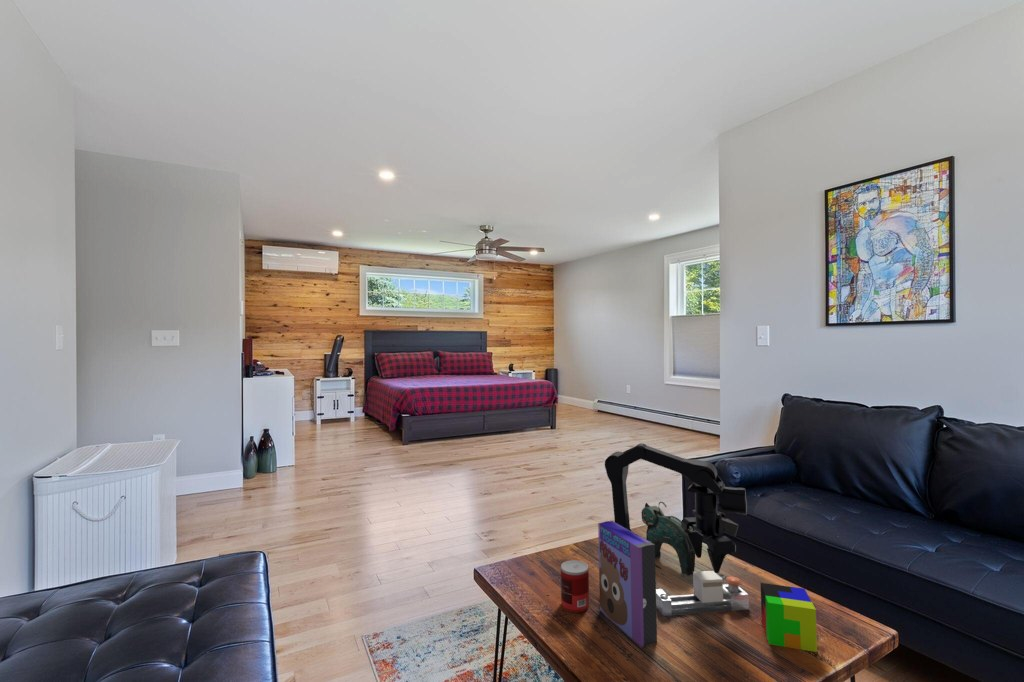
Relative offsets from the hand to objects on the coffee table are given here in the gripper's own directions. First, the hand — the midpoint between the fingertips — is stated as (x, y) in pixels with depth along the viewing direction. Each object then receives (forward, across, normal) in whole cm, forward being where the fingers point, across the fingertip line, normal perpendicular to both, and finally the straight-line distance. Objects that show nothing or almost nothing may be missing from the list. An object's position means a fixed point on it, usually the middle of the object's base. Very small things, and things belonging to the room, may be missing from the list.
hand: (707, 564), depth 130 cm
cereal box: (+11, -6, +26) cm, 29 cm away
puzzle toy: (+11, -16, -12) cm, 23 cm away
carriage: (+9, -1, 0) cm, 9 cm away
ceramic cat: (+11, +26, -1) cm, 28 cm away
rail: (+11, -1, +2) cm, 11 cm away
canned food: (+11, +5, +37) cm, 39 cm away
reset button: (+9, -1, -7) cm, 12 cm away
